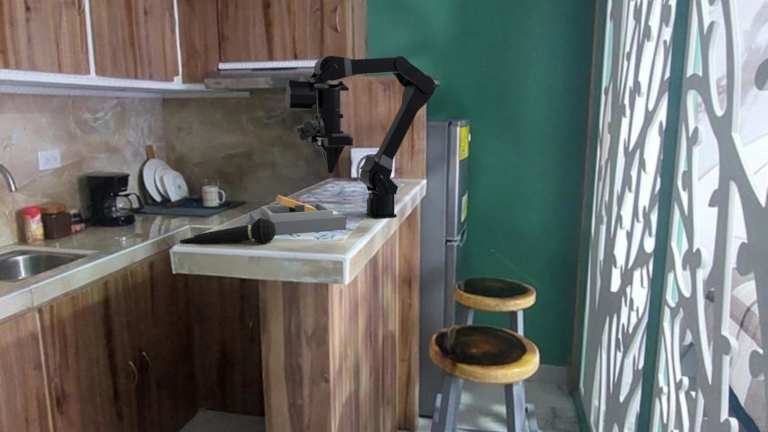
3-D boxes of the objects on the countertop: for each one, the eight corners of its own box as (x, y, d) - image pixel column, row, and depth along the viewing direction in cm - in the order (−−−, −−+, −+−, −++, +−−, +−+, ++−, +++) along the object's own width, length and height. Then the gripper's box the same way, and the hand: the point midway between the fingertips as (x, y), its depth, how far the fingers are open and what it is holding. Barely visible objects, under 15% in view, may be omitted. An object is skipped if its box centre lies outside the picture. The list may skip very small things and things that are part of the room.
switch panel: (328, 218, 135) (328, 196, 134) (345, 229, 122) (345, 205, 121) (250, 224, 127) (248, 200, 126) (259, 236, 115) (258, 210, 113)
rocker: (309, 211, 128) (312, 206, 128) (315, 215, 123) (317, 209, 123) (275, 200, 124) (277, 194, 124) (279, 203, 119) (281, 197, 119)
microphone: (180, 260, 107) (277, 247, 108) (172, 236, 105) (271, 224, 105) (187, 246, 112) (279, 234, 113) (179, 223, 109) (274, 211, 110)
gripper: (288, 109, 133) (290, 170, 136) (306, 109, 116) (308, 178, 119) (329, 110, 137) (330, 169, 140) (353, 109, 120) (354, 176, 123)
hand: (330, 173), depth 131 cm, fingers closed
